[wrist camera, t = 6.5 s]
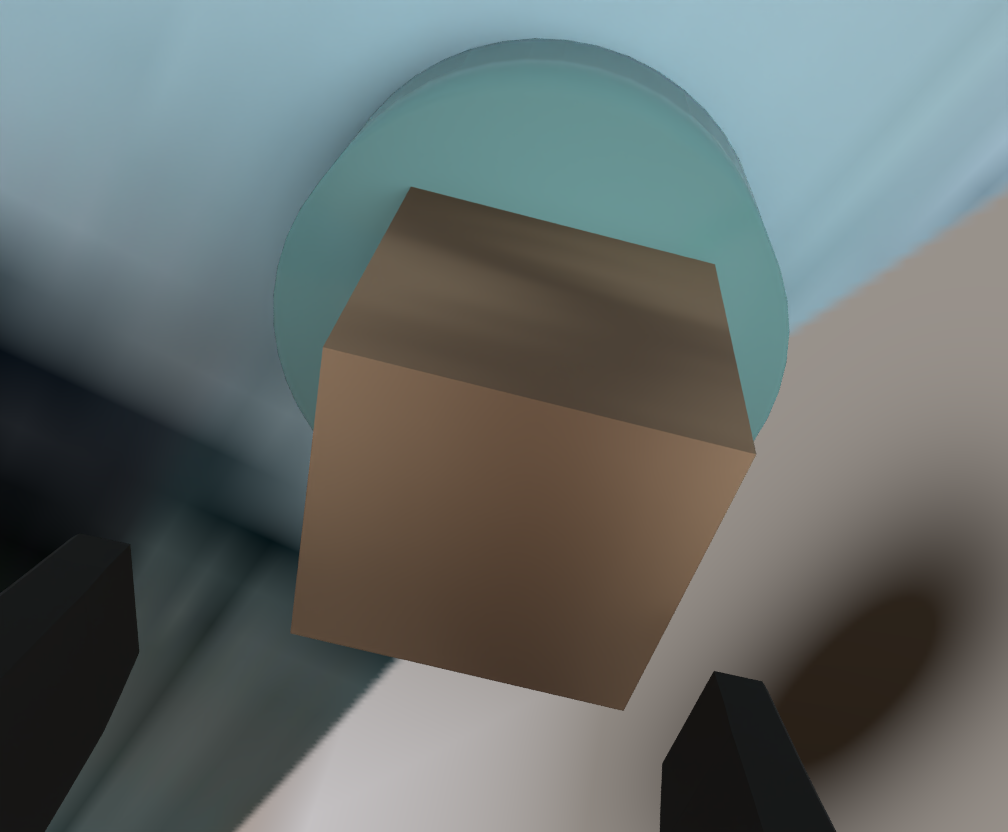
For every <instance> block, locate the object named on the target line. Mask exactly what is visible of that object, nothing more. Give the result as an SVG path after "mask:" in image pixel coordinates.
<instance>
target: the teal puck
mask: <svg viewBox="0 0 1008 832" xmlns="http://www.w3.org/2000/svg"><path fill="white" fill-rule="evenodd" d="M410 187H415V188H419V189H423V190H427V191H431V192H435V193H439V194H443V195H447V196H451V197H454V198H458V199H462V200H466V201H470V202H474V203H478V204H482V205H486V206H490V207H493V208H497V209H501V210H505V211H509V212H513V213H517V214H521V215H525V216H529V217H533V218H536V219H540V220H544V221H548V222H552V223H556V224H560V225H564V226H568V227H572V228H575V229H579V230H583V231H587V232H591V233H595V234H599V235H603V236H607V237H611V238H615V239H618V240H622V241H626V242H630V243H634V244H638V245H642V246H646V247H650V248H654V249H657V250H661V251H665V252H669V253H673V254H677V255H681V256H685V257H689V258H693V259H697V260H700V261H704V262H708V263H712V264H715V267H716V271H717V276H718V281H719V285H720V290H721V294H722V299H723V304H724V308H725V313H726V317H727V322H728V327H729V331H730V336H731V340H732V345H733V350H734V354H735V359H736V363H737V368H738V373H739V377H740V382H741V386H742V391H743V396H744V400H745V405H746V409H747V414H748V419H749V423H750V428H751V432H752V437H753V442H754V440H755V438H756V436H757V435H758V433H759V431H760V430H761V428H762V427H763V425H764V423H765V422H766V420H767V418H768V416H769V413H770V411H771V409H772V406H773V404H774V402H775V399H776V397H777V395H778V392H779V389H780V385H781V381H782V377H783V373H784V369H785V366H786V360H787V349H788V339H789V321H788V305H787V298H786V293H785V289H784V284H783V280H782V275H781V271H780V268H779V265H778V262H777V259H776V257H775V254H774V251H773V249H772V246H771V243H770V240H769V238H768V235H767V232H766V229H765V227H764V224H763V221H762V218H761V216H760V213H759V210H758V207H757V205H756V202H755V199H754V197H753V194H752V191H751V188H750V186H749V183H748V181H747V178H746V175H745V173H744V170H743V168H742V165H741V163H740V160H739V158H738V156H737V155H736V153H735V151H734V150H733V148H732V146H731V144H730V143H729V141H728V139H727V137H726V136H725V134H724V133H723V131H722V130H721V129H720V128H719V126H718V125H717V124H716V123H715V121H714V120H713V119H712V117H711V116H710V115H709V114H708V112H707V111H706V110H705V109H704V108H703V107H702V106H701V105H700V104H699V103H698V102H697V101H695V100H694V99H693V98H692V97H691V96H690V95H689V94H688V93H687V92H686V91H685V90H684V89H682V88H681V87H680V86H678V85H677V84H675V83H674V82H673V81H671V80H670V79H668V78H667V77H665V76H664V75H663V74H661V73H660V72H658V71H657V70H655V69H653V68H651V67H649V66H647V65H645V64H643V63H641V62H639V61H637V60H635V59H633V58H631V57H629V56H626V55H623V54H620V53H617V52H614V51H612V50H609V49H606V48H603V47H600V46H595V45H590V44H585V43H580V42H575V41H569V40H556V39H536V38H534V39H523V40H512V41H502V42H498V43H494V44H490V45H485V46H481V47H477V48H473V49H470V50H467V51H465V52H462V53H460V54H457V55H455V56H452V57H449V58H447V59H444V60H442V61H440V62H439V63H437V64H435V65H433V66H432V67H430V68H428V69H426V70H425V71H423V72H421V73H419V74H418V75H416V76H415V77H414V78H412V79H411V80H410V81H408V82H407V83H406V84H405V85H403V86H402V87H401V88H399V89H398V90H397V91H396V92H394V93H393V94H392V95H391V96H390V97H389V98H388V99H387V100H386V101H385V103H384V104H383V105H382V106H381V107H380V108H379V109H378V110H377V111H376V112H375V113H374V114H373V115H372V116H371V118H370V119H369V120H368V122H367V123H366V124H365V125H364V127H363V128H362V129H361V130H360V132H359V133H358V134H357V135H356V137H355V138H354V139H353V140H352V142H351V143H350V144H349V145H348V147H347V148H346V149H345V150H344V152H343V153H342V154H341V155H340V157H339V158H338V159H337V160H336V162H335V163H334V164H333V165H332V167H331V168H330V169H329V170H328V172H327V173H326V174H325V175H324V177H323V178H322V179H321V181H320V182H319V183H318V185H317V186H316V187H315V189H314V190H313V192H312V193H311V195H310V196H309V197H308V199H307V200H306V202H305V203H304V205H303V206H302V207H301V209H300V211H299V213H298V215H297V217H296V219H295V221H294V223H293V225H292V227H291V229H290V231H289V233H288V235H287V238H286V241H285V244H284V247H283V251H282V254H281V257H280V260H279V264H278V268H277V275H276V282H275V288H274V295H273V296H274V330H275V337H276V343H277V350H278V355H279V358H280V361H281V365H282V368H283V371H284V375H285V378H286V381H287V383H288V385H289V388H290V390H291V392H292V394H293V396H294V399H295V401H296V403H297V405H298V407H299V409H300V410H301V412H302V414H303V415H304V417H305V419H306V420H307V422H308V423H309V425H310V427H311V428H312V430H314V421H315V412H316V404H317V395H318V386H319V377H320V368H321V359H322V350H323V346H324V344H325V342H326V340H327V339H328V337H329V335H330V333H331V331H332V330H333V328H334V326H335V324H336V322H337V320H338V319H339V317H340V315H341V313H342V311H343V309H344V308H345V306H346V304H347V302H348V300H349V298H350V297H351V295H352V293H353V291H354V289H355V287H356V286H357V284H358V282H359V280H360V278H361V277H362V275H363V273H364V271H365V269H366V267H367V266H368V264H369V262H370V260H371V258H372V256H373V255H374V253H375V251H376V249H377V247H378V245H379V244H380V242H381V240H382V238H383V236H384V235H385V233H386V231H387V229H388V227H389V225H390V224H391V222H392V220H393V218H394V216H395V214H396V213H397V211H398V209H399V207H400V205H401V203H402V202H403V200H404V198H405V196H406V194H407V192H408V191H409V189H410Z"/></svg>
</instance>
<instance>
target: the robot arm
mask: <svg viewBox="0 0 1008 832" xmlns="http://www.w3.org/2000/svg"><path fill="white" fill-rule="evenodd" d="M138 654H139V643H138V631H137V619H136V607H135V596H134V584H133V572H132V560H131V548H130V544H127V543H122V542H117V541H113V540H108V539H104V538H99V537H94V536H90V535H85V534H81V533H80V534H78V535H76V536H74V537H72V538H71V539H69V540H68V541H67V542H66V543H64V544H63V545H62V546H60V547H59V548H58V549H57V550H55V551H54V552H53V553H51V554H50V555H49V556H48V557H46V558H45V559H44V560H43V561H41V562H40V563H39V564H37V565H36V566H35V567H34V568H32V569H31V570H30V571H29V572H27V573H26V574H25V575H23V576H22V577H21V578H20V579H18V580H17V581H16V582H14V583H13V584H12V585H11V586H9V587H8V588H7V589H5V590H4V591H3V592H1V593H0V832H45V830H46V829H47V827H48V825H49V824H50V822H51V820H52V819H53V817H54V815H55V814H56V812H57V810H58V809H59V807H60V805H61V804H62V802H63V800H64V799H65V797H66V795H67V793H68V792H69V790H70V788H71V787H72V785H73V783H74V782H75V780H76V778H77V776H78V775H79V773H80V771H81V770H82V768H83V766H84V765H85V763H86V761H87V759H88V758H89V756H90V754H91V753H92V751H93V749H94V747H95V746H96V744H97V742H98V741H99V739H100V737H101V735H102V734H103V732H104V730H105V728H106V725H107V723H108V721H109V719H110V717H111V715H112V712H113V710H114V708H115V706H116V704H117V702H118V699H119V697H120V695H121V693H122V691H123V688H124V686H125V684H126V681H127V679H128V677H129V675H130V672H131V670H132V668H133V665H134V663H135V661H136V658H137V656H138ZM660 809H661V810H660V832H836V830H835V828H834V826H833V824H832V823H831V820H830V818H829V816H828V814H827V812H826V810H825V809H824V806H823V805H822V803H821V801H820V798H819V797H818V794H817V793H816V791H815V788H814V786H813V784H812V782H811V780H810V778H809V776H808V774H807V772H806V770H805V768H804V766H803V764H802V762H801V760H800V758H799V756H798V754H797V752H796V749H795V747H794V745H793V743H792V741H791V739H790V737H789V735H788V733H787V730H786V728H785V726H784V724H783V722H782V720H781V718H780V716H779V713H778V711H777V709H776V707H775V705H774V703H773V701H772V699H771V697H770V695H769V692H768V690H767V689H766V687H765V685H764V684H763V682H762V681H758V680H753V679H748V678H744V677H739V676H735V675H730V674H725V673H721V672H716V671H714V672H713V674H712V676H711V677H710V679H709V681H708V683H707V684H706V686H705V688H704V690H703V692H702V693H701V695H700V697H699V699H698V701H697V702H696V704H695V706H694V708H693V710H692V711H691V713H690V715H689V717H688V719H687V720H686V722H685V724H684V726H683V728H682V729H681V731H680V733H679V735H678V736H677V738H676V740H675V742H674V744H673V745H672V747H671V749H670V751H669V752H668V754H667V756H666V758H665V760H664V761H663V764H662V785H661V807H660Z"/></svg>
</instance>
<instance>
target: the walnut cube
mask: <svg viewBox="0 0 1008 832" xmlns="http://www.w3.org/2000/svg"><path fill="white" fill-rule="evenodd" d="M755 456H756V451H755V446H754V442H753V437H752V432H751V428H750V423H749V419H748V414H747V409H746V405H745V400H744V396H743V391H742V386H741V382H740V377H739V373H738V368H737V363H736V359H735V354H734V350H733V345H732V340H731V336H730V331H729V327H728V322H727V317H726V313H725V308H724V304H723V299H722V294H721V290H720V285H719V281H718V276H717V271H716V267H715V264H712V263H708V262H704V261H700V260H697V259H693V258H689V257H685V256H681V255H677V254H673V253H669V252H665V251H661V250H657V249H654V248H650V247H646V246H642V245H638V244H634V243H630V242H626V241H622V240H618V239H615V238H611V237H607V236H603V235H599V234H595V233H591V232H587V231H583V230H579V229H575V228H572V227H568V226H564V225H560V224H556V223H552V222H548V221H544V220H540V219H536V218H533V217H529V216H525V215H521V214H517V213H513V212H509V211H505V210H501V209H497V208H493V207H490V206H486V205H482V204H478V203H474V202H470V201H466V200H462V199H458V198H454V197H451V196H447V195H443V194H439V193H435V192H431V191H427V190H423V189H419V188H415V187H410V189H409V191H408V192H407V194H406V196H405V198H404V200H403V202H402V203H401V205H400V207H399V209H398V211H397V213H396V214H395V216H394V218H393V220H392V222H391V224H390V225H389V227H388V229H387V231H386V233H385V235H384V236H383V238H382V240H381V242H380V244H379V245H378V247H377V249H376V251H375V253H374V255H373V256H372V258H371V260H370V262H369V264H368V266H367V267H366V269H365V271H364V273H363V275H362V277H361V278H360V280H359V282H358V284H357V286H356V287H355V289H354V291H353V293H352V295H351V297H350V298H349V300H348V302H347V304H346V306H345V308H344V309H343V311H342V313H341V315H340V317H339V319H338V320H337V322H336V324H335V326H334V328H333V330H332V331H331V333H330V335H329V337H328V339H327V340H326V342H325V344H324V346H323V350H322V359H321V368H320V377H319V386H318V395H317V404H316V412H315V421H314V430H313V439H312V448H311V457H310V466H309V474H308V483H307V492H306V501H305V510H304V519H303V528H302V536H301V545H300V554H299V563H298V572H297V581H296V590H295V598H294V607H293V616H292V625H291V633H292V634H296V635H300V636H305V637H309V638H313V639H317V640H322V641H326V642H330V643H335V644H339V645H343V646H347V647H352V648H356V649H360V650H365V651H369V652H373V653H377V654H382V655H386V656H390V657H395V658H399V659H403V660H408V661H412V662H416V663H420V664H425V665H429V666H434V667H438V668H442V669H446V670H450V671H455V672H459V673H464V674H468V675H472V676H476V677H481V678H485V679H489V680H494V681H498V682H502V683H507V684H511V685H515V686H519V687H523V688H528V689H532V690H536V691H541V692H545V693H549V694H553V695H558V696H562V697H567V698H571V699H575V700H580V701H584V702H588V703H592V704H596V705H601V706H605V707H609V708H614V709H618V710H622V711H623V710H624V709H625V707H626V705H627V703H628V701H629V699H630V697H631V695H632V693H633V691H634V690H635V687H636V686H637V684H638V682H639V680H640V678H641V676H642V674H643V672H644V670H645V668H646V666H647V664H648V662H649V661H650V659H651V656H652V655H653V653H654V651H655V649H656V647H657V645H658V643H659V641H660V639H661V637H662V635H663V634H664V631H665V630H666V628H667V626H668V624H669V622H670V620H671V618H672V616H673V614H674V612H675V610H676V608H677V606H678V605H679V603H680V601H681V599H682V597H683V595H684V593H685V591H686V589H687V587H688V585H689V583H690V581H691V579H692V577H693V575H694V574H695V572H696V570H697V568H698V566H699V564H700V562H701V560H702V558H703V556H704V554H705V552H706V550H707V549H708V547H709V545H710V542H711V541H712V539H713V537H714V535H715V533H716V531H717V529H718V527H719V525H720V524H721V521H722V520H723V518H724V516H725V513H726V512H727V510H728V508H729V506H730V504H731V502H732V500H733V498H734V496H735V494H736V493H737V491H738V489H739V487H740V485H741V483H742V481H743V479H744V477H745V475H746V473H747V471H748V469H749V468H750V466H751V463H752V462H753V460H754V458H755Z"/></svg>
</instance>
